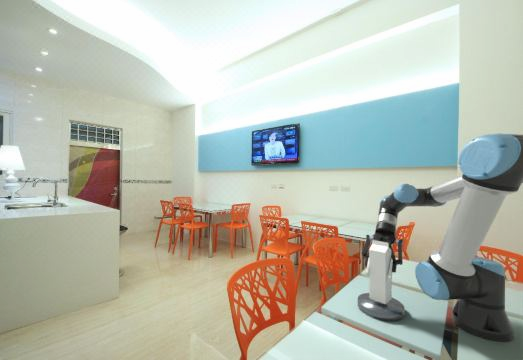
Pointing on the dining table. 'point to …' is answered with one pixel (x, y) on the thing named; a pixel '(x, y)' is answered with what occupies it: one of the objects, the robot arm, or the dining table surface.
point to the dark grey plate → (381, 308)
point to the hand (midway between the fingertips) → (378, 276)
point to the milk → (380, 272)
